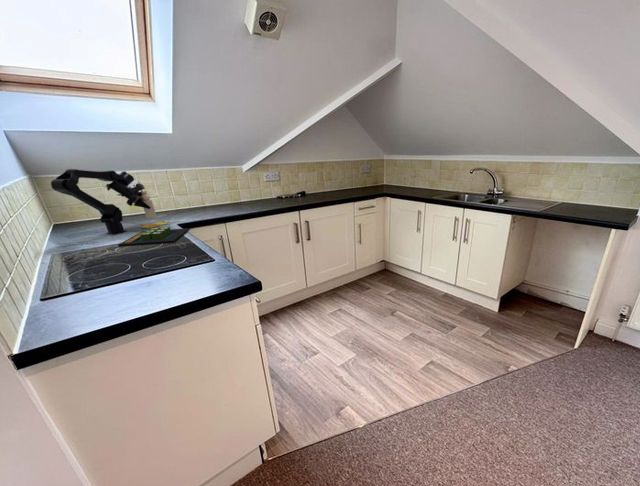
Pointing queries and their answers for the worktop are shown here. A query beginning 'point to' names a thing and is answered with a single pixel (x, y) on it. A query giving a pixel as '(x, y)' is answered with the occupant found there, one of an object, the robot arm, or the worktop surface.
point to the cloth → (154, 225)
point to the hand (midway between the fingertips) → (151, 207)
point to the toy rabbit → (149, 212)
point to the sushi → (155, 236)
